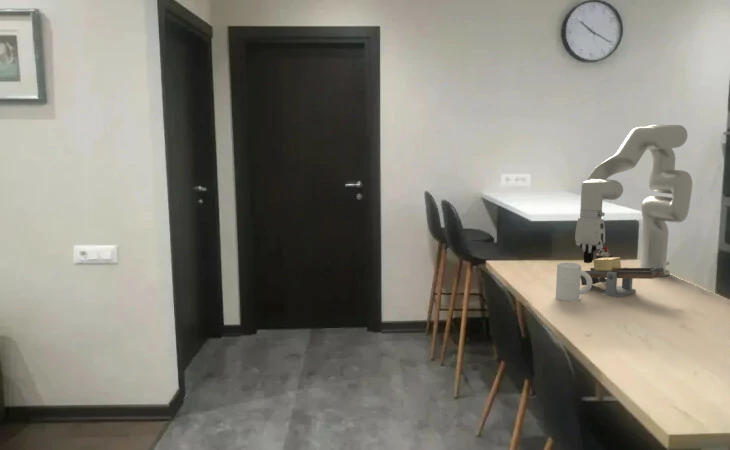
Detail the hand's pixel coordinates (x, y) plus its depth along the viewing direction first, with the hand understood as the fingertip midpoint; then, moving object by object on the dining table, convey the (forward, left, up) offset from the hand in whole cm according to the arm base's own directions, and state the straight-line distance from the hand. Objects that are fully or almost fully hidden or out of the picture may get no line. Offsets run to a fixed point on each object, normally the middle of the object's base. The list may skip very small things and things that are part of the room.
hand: (588, 262), depth 233 cm
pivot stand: (0, +13, -9) cm, 16 cm away
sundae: (-12, -1, -9) cm, 15 cm away
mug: (+19, +7, -9) cm, 22 cm away
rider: (0, +8, -2) cm, 9 cm away
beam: (0, +14, -6) cm, 15 cm away
